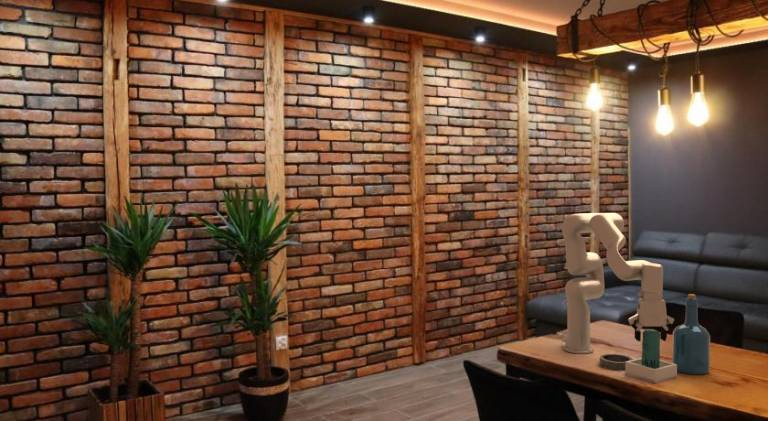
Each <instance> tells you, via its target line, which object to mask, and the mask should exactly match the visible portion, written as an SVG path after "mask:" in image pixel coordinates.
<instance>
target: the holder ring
mask: <svg viewBox="0 0 768 421" xmlns="http://www.w3.org/2000/svg"><path fill="white" fill-rule="evenodd" d="M630 360H634V358H632V357H631V356H629V355H626V354H619V353H618V354H617V353H605V354H601V355H600V356H599V363H598V364H599V366H601V367H602V368H605V369H608V370H614V371H625V362H626V361H630Z"/></svg>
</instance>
